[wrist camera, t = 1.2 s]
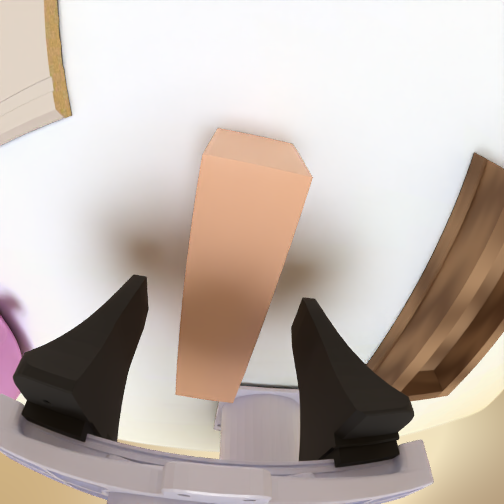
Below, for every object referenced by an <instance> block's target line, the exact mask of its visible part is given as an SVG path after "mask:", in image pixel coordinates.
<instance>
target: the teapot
mask: <svg viewBox="0 0 504 504" xmlns="http://www.w3.org/2000/svg"><path fill="white" fill-rule="evenodd" d="M21 358H22V356H21V352H20V348H19V345H18V343H17V341H16V339H15V337H14V335H13V333H12V331H11V330H10V328H9V327H8V325H7V324H6V322H5V321H4V319H3V318H2V317H1V315H0V394H4V395H6V396H8V397H10V398H12V399H14V400H16V399H17V397H18V396H19V394H20V390H19V389H18V388H17V386H16V385H15V383H14V381H13V375H14V373H15V371H16V368H17V366H18V364H19V362H20V360H21Z"/></svg>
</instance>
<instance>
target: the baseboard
mask: <svg viewBox="0 0 504 504" xmlns="http://www.w3.org/2000/svg"><path fill="white" fill-rule="evenodd" d="M58 24H59V15H58V8H57V0H0V145H2V144H4V143H7V142H9V141H11V140H13V139H15V138H17V137H19V136H22V135H24V134H26V133H28V132H31V131H33V130H35V129H38V128H40V127H43V126H45V125H47V124H50V123H53V122H55V121H58V120H60V119H63V118H66V117H69V116H71V110H70V104H69V99H68V93H67V87H66V81H65V74H64V68H63V66H62V58H61V41H60V39H59V26H58Z"/></svg>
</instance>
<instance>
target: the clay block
mask: <svg viewBox="0 0 504 504" xmlns="http://www.w3.org/2000/svg"><path fill="white" fill-rule="evenodd" d="M312 178H313V177H312V176H311V174H310V172H309V170H308V169H307V167H306V165H305V163H304V162H303V160H302V158H301V157H300V155H299V153H298V152H297V150H296V148H295V147H294V145H293V144H291V143H287V142H283V141H278V140H274V139H270V138H265V137H261V136H256V135H251V134H247V133H242V132H237V131H231V130H226V129H221V128H218V129H217V130H216V132H215V134H214V135H213V137H212V139H211V140H210V142H209V144H208V146H207V147H206V149H205V151H204V153H203V155H202V160H201V166H200V172H199V178H198V184H197V191H196V197H195V204H194V210H193V217H192V224H191V232H190V239H189V247H188V255H187V263H186V272H185V281H184V290H183V300H182V310H181V321H180V333H179V346H178V360H177V375H176V394H175V395H181V396H186V397H192V398H199V399H205V400H212V401H220V402H227V403H233V402H234V399H235V397H236V394H237V392H238V389H239V387H240V384H241V381H242V379H243V376H244V374H245V371H246V368H247V366H248V363H249V360H250V358H251V355H252V352H253V350H254V347H255V344H256V342H257V339H258V336H259V333H260V331H261V328H262V325H263V322H264V320H265V317H266V314H267V311H268V309H269V306H270V303H271V300H272V297H273V294H274V292H275V289H276V286H277V283H278V280H279V277H280V275H281V272H282V269H283V266H284V263H285V260H286V257H287V254H288V251H289V248H290V245H291V242H292V239H293V236H294V233H295V230H296V227H297V224H298V221H299V218H300V215H301V212H302V209H303V206H304V203H305V200H306V197H307V194H308V191H309V187H310V184H311V181H312Z"/></svg>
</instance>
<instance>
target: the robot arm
mask: <svg viewBox="0 0 504 504" xmlns="http://www.w3.org/2000/svg"><path fill="white" fill-rule="evenodd" d="M147 313H148V295H147V277H145V276H139V275H133V276H132V277H131V278H130V279H129V280H128V281H127V282H126V283H125V284H124V285H123V286H122V287H121V288H120V289H119V290H118V291H117V292H116V293H115V294H114V295H113V296H112V297H111V298H110V299H109V300H108V301H107V302H106V303H105V304H104V305H102V306H101V307H100V308H99V309H98V310H97V311H96V312H95V313H93V314H92V315H91V316H90V317H89V318H87V319H86V320H85V321H83V322H82V323H81V324H79V325H78V326H76V327H75V328H73V329H72V330H70V331H69V332H67V333H66V334H64V335H62V336H61V337H59V338H57V339H55V340H53V341H51V342H49V343H47V344H45V345H43V346H41V347H38V348H36V349H33V350H31V351H28V352H26V353H24V355H23V357H22V358H21V360H20V362H19V364H18V366H17V368H16V371H15V373H14V375H13V381H14V383H15V385H16V386H17V388H18V389H19V390H20V392H21V393H22V394H23V396H24V397H25V398H26V400H27V402H26V404H25V406H24V405H23V404H22V403H20V402H18V401H17V400H14V399H12V398H10V397H8V396H6V395H4V394H0V451H1V452H2V453H3V454H4V455H6V456H7V457H9V458H10V459H12V460H14V461H16V462H18V463H20V464H21V465H24V466H26V467H27V468H29V469H31V470H34V471H36V472H38V473H40V474H42V475H44V476H46V477H48V478H51V479H53V480H55V481H58V482H60V483H62V484H65V485H67V486H69V487H72V488H74V489H77V490H80V491H82V492H85V493H88V494H91V495H93V496H96V497H99V498H103V499H106V500H107V504H381V503H385V502H389V501H392V500H396V499H400V498H403V497H405V496H408V495H410V494H412V493H414V492H416V491H419V490H421V489H423V488H425V487H427V486H429V485H431V484H433V482H434V481H433V477H432V473H431V469H430V465H429V461H428V458H427V454H426V450H425V447H424V443H423V441H422V440H417V441H412V442H407V443H404V444H401V445H399V446H398V445H397V441H396V440H398V439H399V434H398V431H400V430H401V429H402V428H403V427H405V426H406V425H407V424H408V423H409V422H410V421H411V420H412V418H413V417H414V411H413V408H412V405H411V402H410V399H409V397H408V396H406V395H405V394H403V393H402V392H400V391H398V390H397V389H395V388H394V387H392V386H391V385H389V384H388V383H387V382H385V381H384V380H383V379H382V378H380V377H379V376H378V375H377V374H375V373H374V372H373V371H372V370H371V369H370V368H369V367H368V366H367V365H366V364H365V363H363V362H362V361H361V359H360V358H359V357H358V356H357V355H356V354H355V353H354V352H353V351H352V350H351V349H350V347H349V346H348V345H347V344H346V342H345V341H344V340H343V339H342V337H341V336H340V335H339V333H338V332H337V331H336V329H335V328H334V326H333V325H332V324H331V322H330V321H329V319H328V318H327V316H326V315H325V313H324V312H323V310H322V309H321V307H320V305H319V304H318V303H317V301H316V300H315V299H311V298H302V301H301V304H300V306H299V309H298V312H297V314H296V317H295V319H294V322H293V325H292V327H291V330H292V349H293V356H294V362H295V368H296V374H297V380H298V387H299V389H280V388H263V387H250V386H240V387H239V389H238V392H237V394H236V397H235V399H234V402H233V403H227V402H220V401H219V402H218V407H217V412H216V418H215V423H214V429H215V430H218V431H221V440H220V459H211V458H202V457H194V456H186V455H179V454H173V453H166V452H161V451H156V450H150V449H145V448H141V447H136V446H131V445H127V444H123V443H119V442H117V437H118V427H119V420H120V413H121V406H122V400H123V395H124V389H125V385H126V380H127V375H128V371H129V368H130V365H131V362H132V359H133V356H134V354H135V351H136V348H137V345H138V343H139V340H140V337H141V334H142V332H143V329H144V325H145V321H146V317H147Z"/></svg>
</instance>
